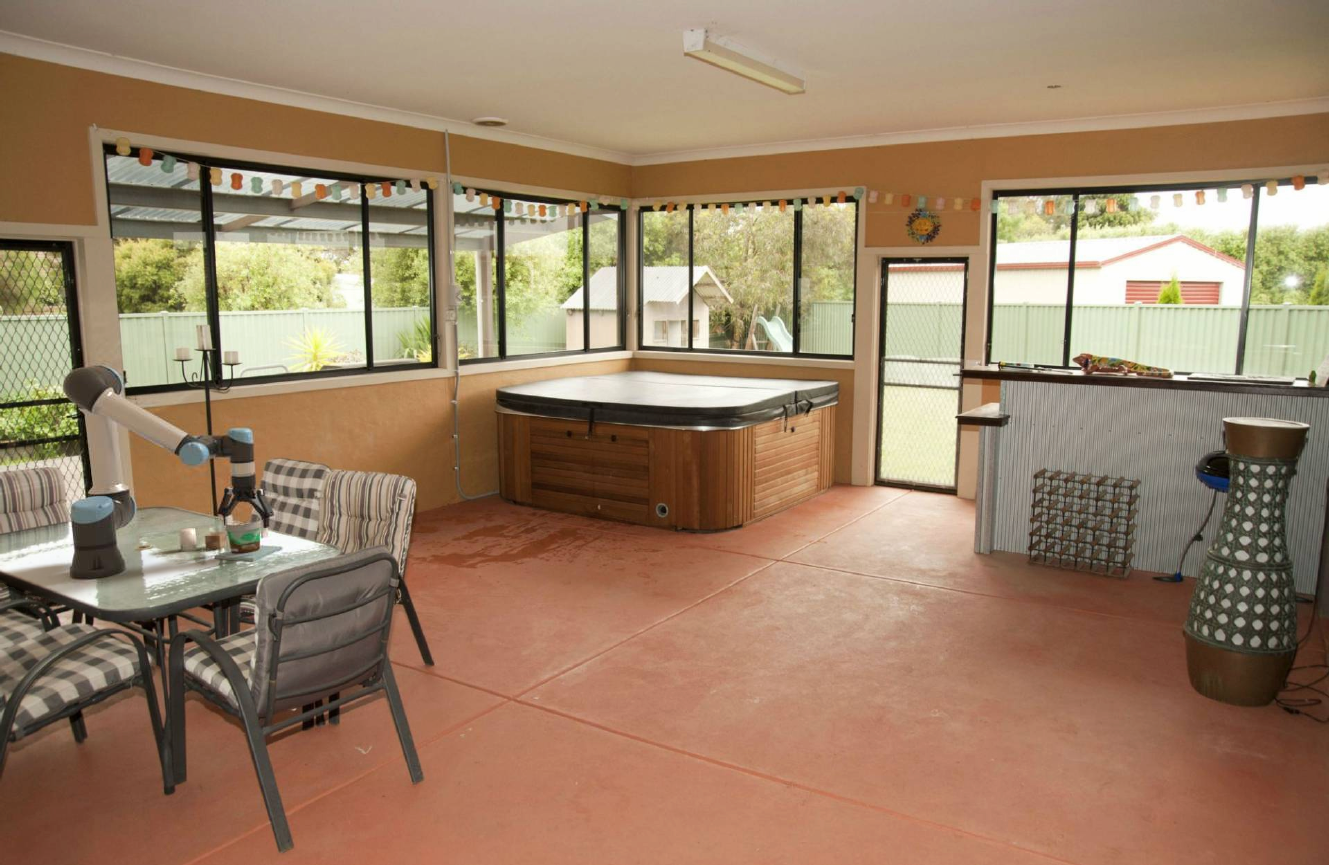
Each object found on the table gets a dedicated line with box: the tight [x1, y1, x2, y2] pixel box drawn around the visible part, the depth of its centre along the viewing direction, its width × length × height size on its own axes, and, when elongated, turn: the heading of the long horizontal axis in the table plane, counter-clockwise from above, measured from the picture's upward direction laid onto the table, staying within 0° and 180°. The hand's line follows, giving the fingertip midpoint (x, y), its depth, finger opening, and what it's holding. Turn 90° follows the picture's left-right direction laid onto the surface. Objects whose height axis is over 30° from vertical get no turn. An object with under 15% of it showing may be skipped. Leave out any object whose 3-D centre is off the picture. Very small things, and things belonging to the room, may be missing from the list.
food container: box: [224, 517, 261, 554], centre depth 314 cm, size 12×6×10 cm, turn 143°
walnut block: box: [204, 531, 228, 550], centre depth 323 cm, size 5×5×5 cm
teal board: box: [214, 544, 283, 562], centre depth 315 cm, size 15×15×1 cm
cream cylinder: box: [178, 527, 198, 552], centre depth 321 cm, size 5×5×7 cm
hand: (247, 536), depth 314 cm, fingers open, 13 cm apart
